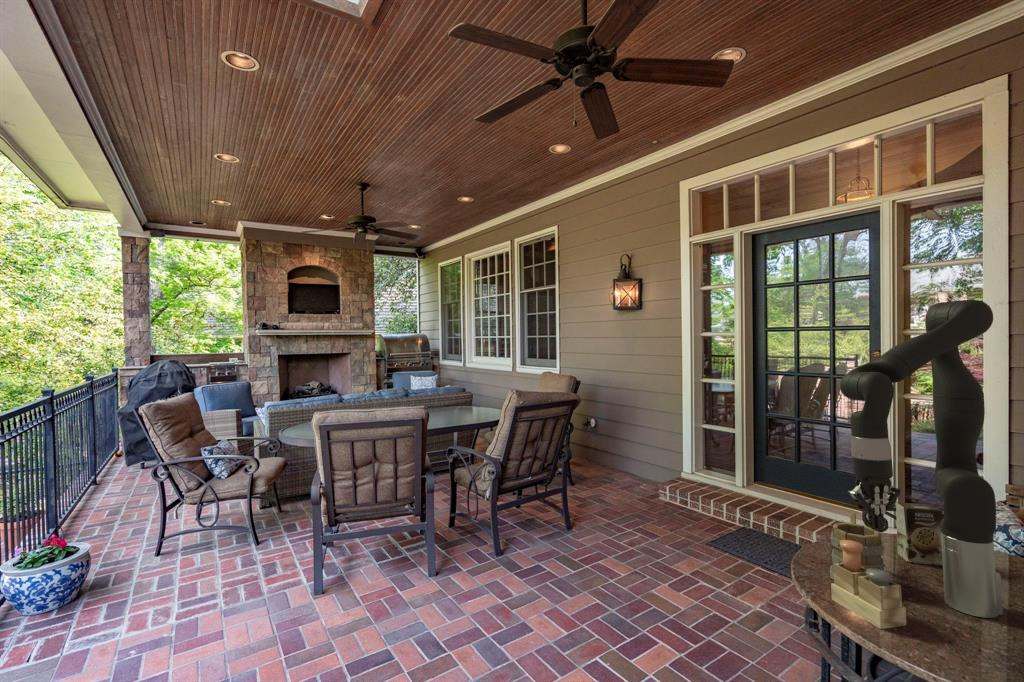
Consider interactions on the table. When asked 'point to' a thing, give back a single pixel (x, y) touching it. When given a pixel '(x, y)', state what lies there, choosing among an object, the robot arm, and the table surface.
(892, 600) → the frame
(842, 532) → the tankard
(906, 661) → the table surface
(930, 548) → the coffee box
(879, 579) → the grey mushroom plug
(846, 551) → the terracotta plug
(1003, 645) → the table surface
